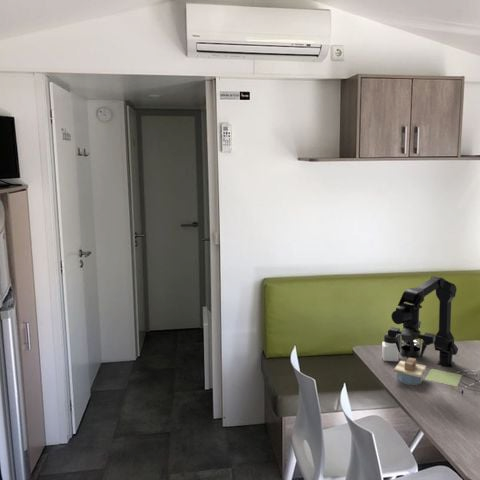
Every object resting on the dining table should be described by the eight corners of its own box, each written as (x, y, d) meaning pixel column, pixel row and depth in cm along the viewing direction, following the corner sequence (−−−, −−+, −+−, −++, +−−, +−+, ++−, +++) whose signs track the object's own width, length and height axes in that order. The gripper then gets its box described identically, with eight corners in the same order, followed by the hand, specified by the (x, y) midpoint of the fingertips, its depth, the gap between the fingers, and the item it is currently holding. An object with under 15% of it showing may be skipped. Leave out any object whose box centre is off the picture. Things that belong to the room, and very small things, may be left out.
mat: (431, 369, 216) (431, 368, 216) (462, 375, 209) (462, 374, 209) (424, 380, 206) (424, 379, 206) (457, 387, 199) (457, 386, 199)
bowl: (401, 373, 213) (401, 363, 212) (424, 378, 207) (424, 367, 206) (394, 382, 204) (395, 371, 204) (419, 387, 199) (419, 376, 198)
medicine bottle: (398, 361, 226) (399, 337, 224) (383, 360, 227) (383, 337, 225) (397, 356, 233) (397, 332, 231) (381, 355, 234) (382, 331, 232)
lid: (400, 362, 213) (400, 354, 212) (426, 367, 207) (426, 359, 206) (393, 371, 203) (393, 362, 203) (420, 377, 198) (420, 368, 197)
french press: (422, 359, 228) (423, 313, 224) (401, 358, 230) (403, 312, 226) (418, 350, 239) (420, 306, 236) (398, 349, 241) (400, 305, 238)
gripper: (384, 321, 200) (383, 356, 202) (430, 328, 190) (429, 365, 192) (391, 314, 209) (390, 347, 212) (436, 320, 199) (434, 356, 201)
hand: (410, 354), depth 204 cm, fingers open, 9 cm apart
